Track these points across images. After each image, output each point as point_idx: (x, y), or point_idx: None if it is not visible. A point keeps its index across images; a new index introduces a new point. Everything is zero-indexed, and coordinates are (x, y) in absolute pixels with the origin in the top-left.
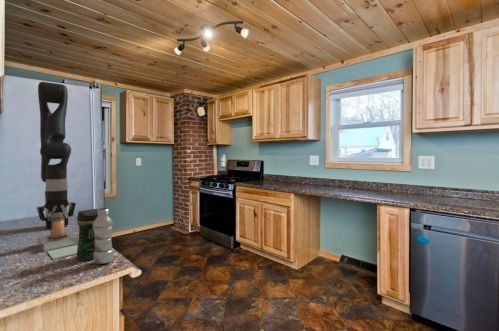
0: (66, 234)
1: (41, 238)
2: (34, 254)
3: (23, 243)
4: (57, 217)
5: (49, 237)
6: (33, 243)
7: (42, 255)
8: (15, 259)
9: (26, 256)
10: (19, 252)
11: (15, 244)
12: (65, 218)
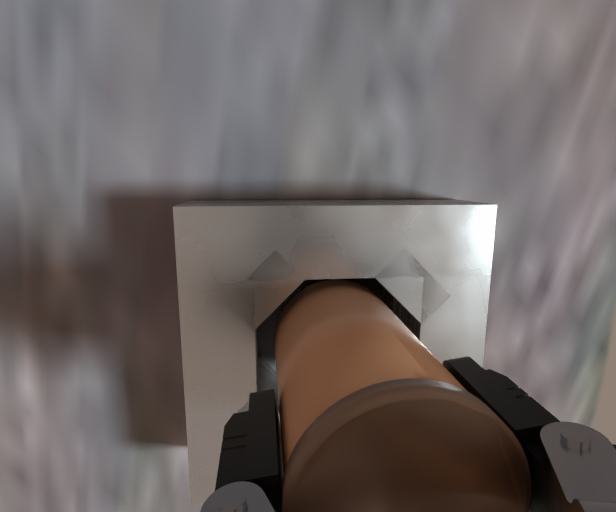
0: (426, 320)
1: (200, 307)
2: (142, 451)
3: (80, 37)
4: (446, 399)
5: (273, 308)
6: (163, 116)
7: (187, 508)
8: (19, 480)
9: (90, 461)
10: (44, 325)
11: (8, 13)
12: (532, 499)
